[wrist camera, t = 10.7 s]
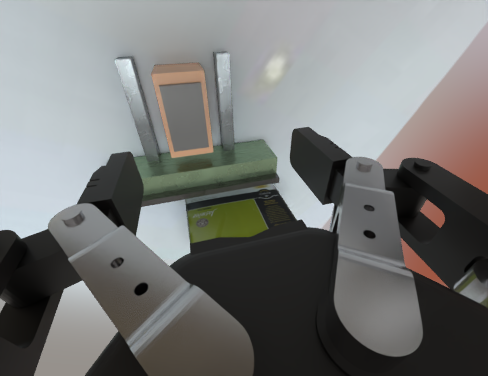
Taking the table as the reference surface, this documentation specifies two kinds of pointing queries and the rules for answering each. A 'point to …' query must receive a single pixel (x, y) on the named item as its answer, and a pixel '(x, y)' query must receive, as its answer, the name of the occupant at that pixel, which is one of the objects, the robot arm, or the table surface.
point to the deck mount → (202, 165)
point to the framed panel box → (183, 108)
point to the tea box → (236, 213)
